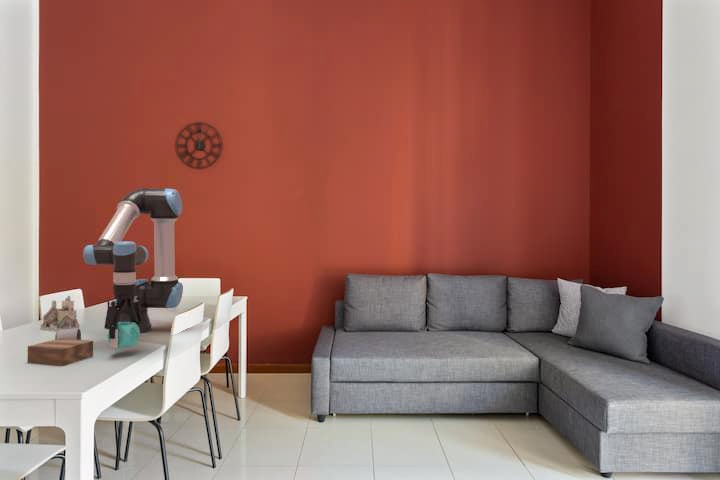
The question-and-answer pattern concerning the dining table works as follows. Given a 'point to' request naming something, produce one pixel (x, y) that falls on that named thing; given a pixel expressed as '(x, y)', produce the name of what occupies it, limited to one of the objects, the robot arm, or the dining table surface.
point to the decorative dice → (127, 334)
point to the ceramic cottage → (60, 317)
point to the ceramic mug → (69, 334)
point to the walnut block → (60, 352)
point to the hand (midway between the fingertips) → (124, 344)
